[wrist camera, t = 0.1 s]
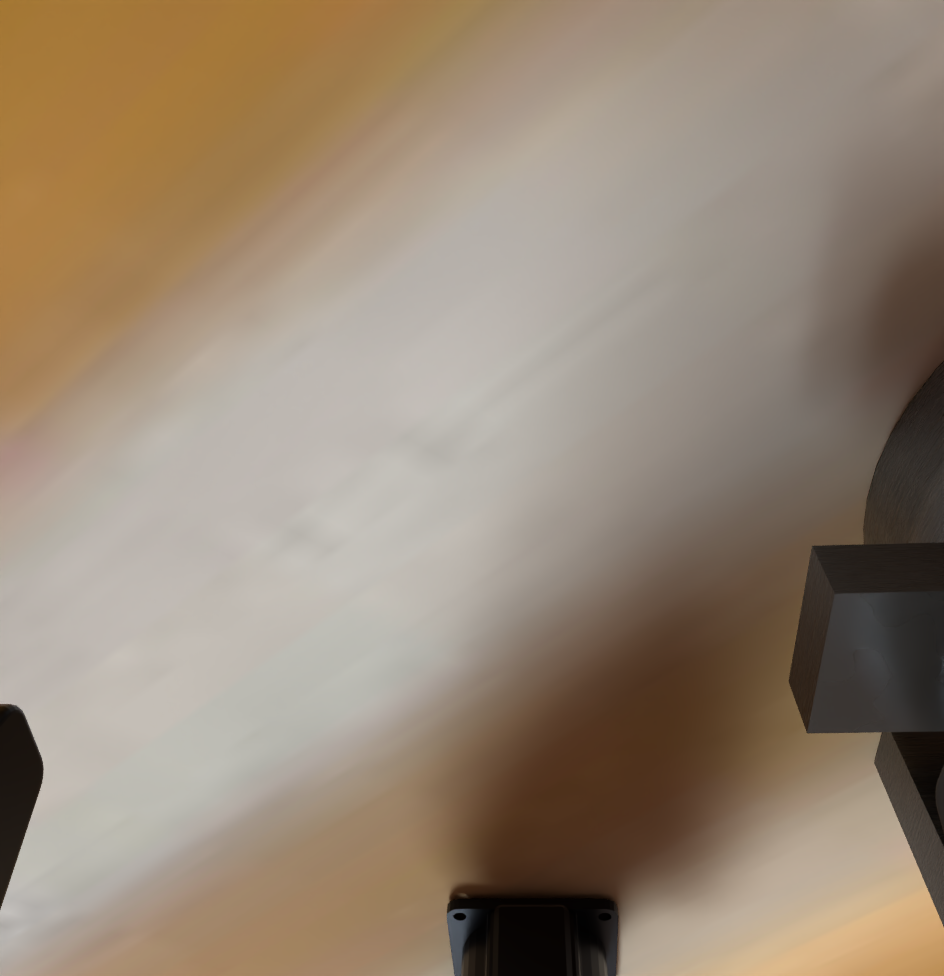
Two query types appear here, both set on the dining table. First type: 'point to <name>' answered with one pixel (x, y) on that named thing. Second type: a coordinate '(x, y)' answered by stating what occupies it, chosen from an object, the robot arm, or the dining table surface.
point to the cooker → (888, 629)
